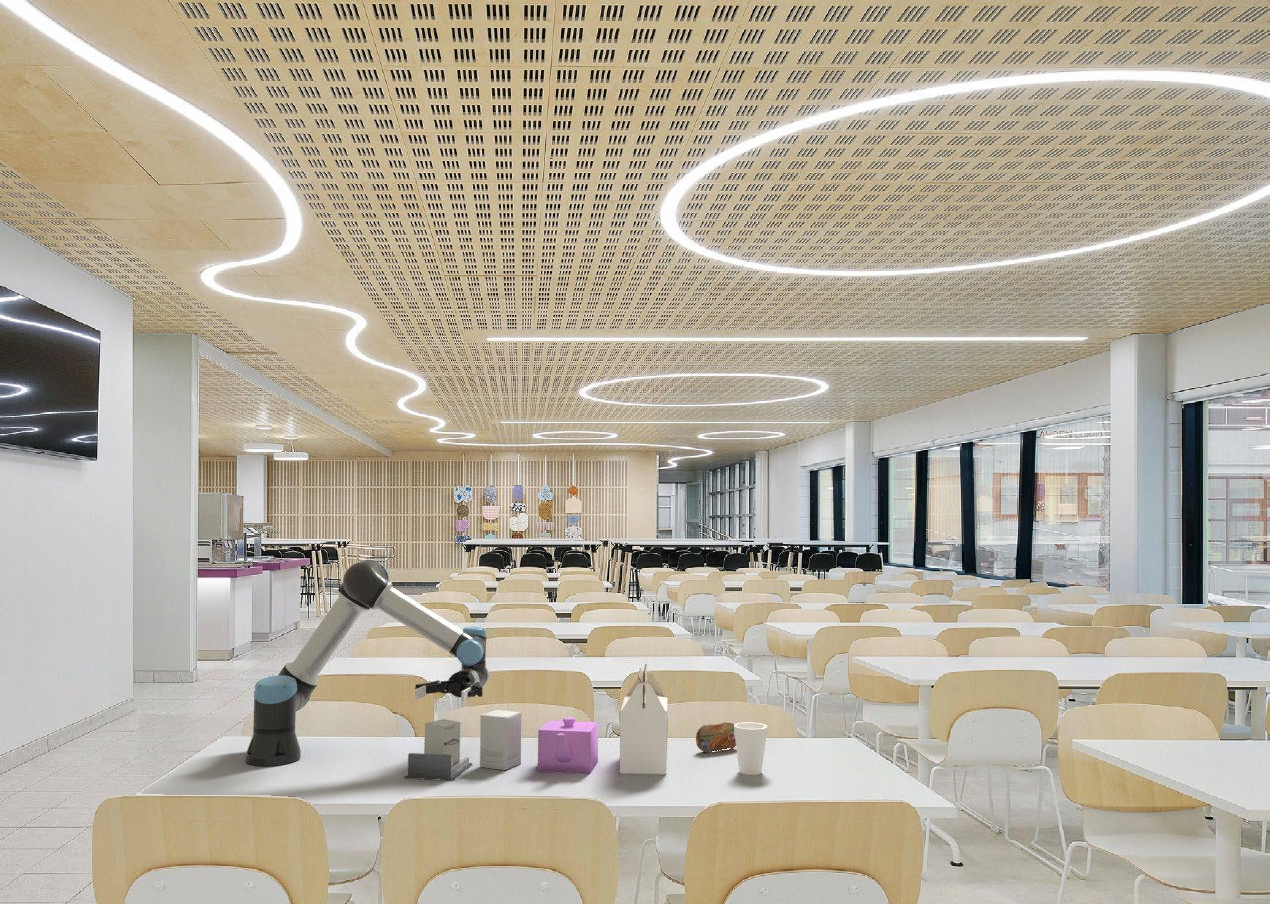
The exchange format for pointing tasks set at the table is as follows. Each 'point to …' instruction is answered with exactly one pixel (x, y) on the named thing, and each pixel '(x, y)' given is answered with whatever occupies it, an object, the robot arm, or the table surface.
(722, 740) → the tin
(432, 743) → the supplement box
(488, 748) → the supplement box
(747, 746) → the foam cup
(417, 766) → the pusher lane
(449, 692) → the robot arm
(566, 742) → the teapot
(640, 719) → the gable box
